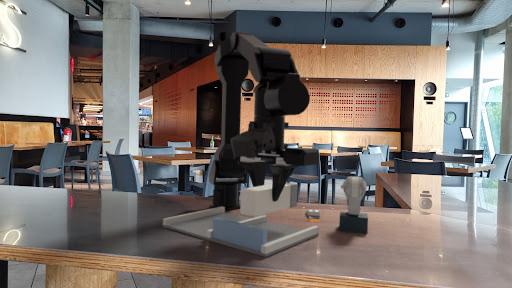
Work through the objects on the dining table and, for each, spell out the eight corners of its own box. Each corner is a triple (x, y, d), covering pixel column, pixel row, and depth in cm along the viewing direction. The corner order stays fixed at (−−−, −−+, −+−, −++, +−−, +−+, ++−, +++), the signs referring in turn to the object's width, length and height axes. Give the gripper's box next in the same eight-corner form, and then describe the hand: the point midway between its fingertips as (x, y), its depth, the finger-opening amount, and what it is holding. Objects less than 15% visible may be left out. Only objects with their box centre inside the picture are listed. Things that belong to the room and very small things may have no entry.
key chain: (304, 214, 93) (305, 208, 93) (320, 215, 92) (320, 209, 92) (305, 228, 80) (305, 221, 80) (323, 229, 80) (323, 222, 79)
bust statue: (366, 225, 81) (368, 175, 81) (367, 235, 73) (370, 179, 73) (339, 223, 83) (341, 173, 82) (338, 233, 75) (340, 178, 74)
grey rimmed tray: (221, 213, 89) (221, 196, 89) (318, 235, 73) (319, 214, 73) (162, 226, 76) (163, 207, 76) (265, 257, 60) (266, 232, 59)
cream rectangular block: (280, 203, 78) (281, 182, 78) (296, 206, 75) (297, 184, 75) (239, 213, 68) (239, 188, 67) (256, 217, 65) (257, 191, 65)
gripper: (202, 114, 69) (200, 198, 70) (287, 114, 58) (283, 215, 59) (242, 117, 78) (240, 191, 79) (322, 117, 67) (319, 204, 67)
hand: (266, 199), depth 71 cm, fingers closed on cream rectangular block, 3 cm apart
